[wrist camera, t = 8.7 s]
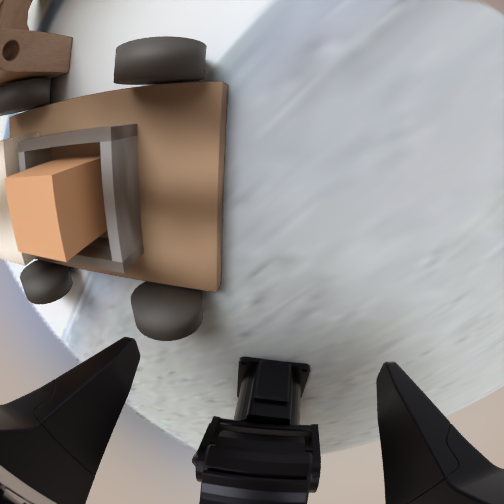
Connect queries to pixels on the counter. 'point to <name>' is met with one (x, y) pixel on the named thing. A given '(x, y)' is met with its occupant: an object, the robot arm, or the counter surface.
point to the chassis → (133, 179)
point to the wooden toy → (29, 47)
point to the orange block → (57, 206)
